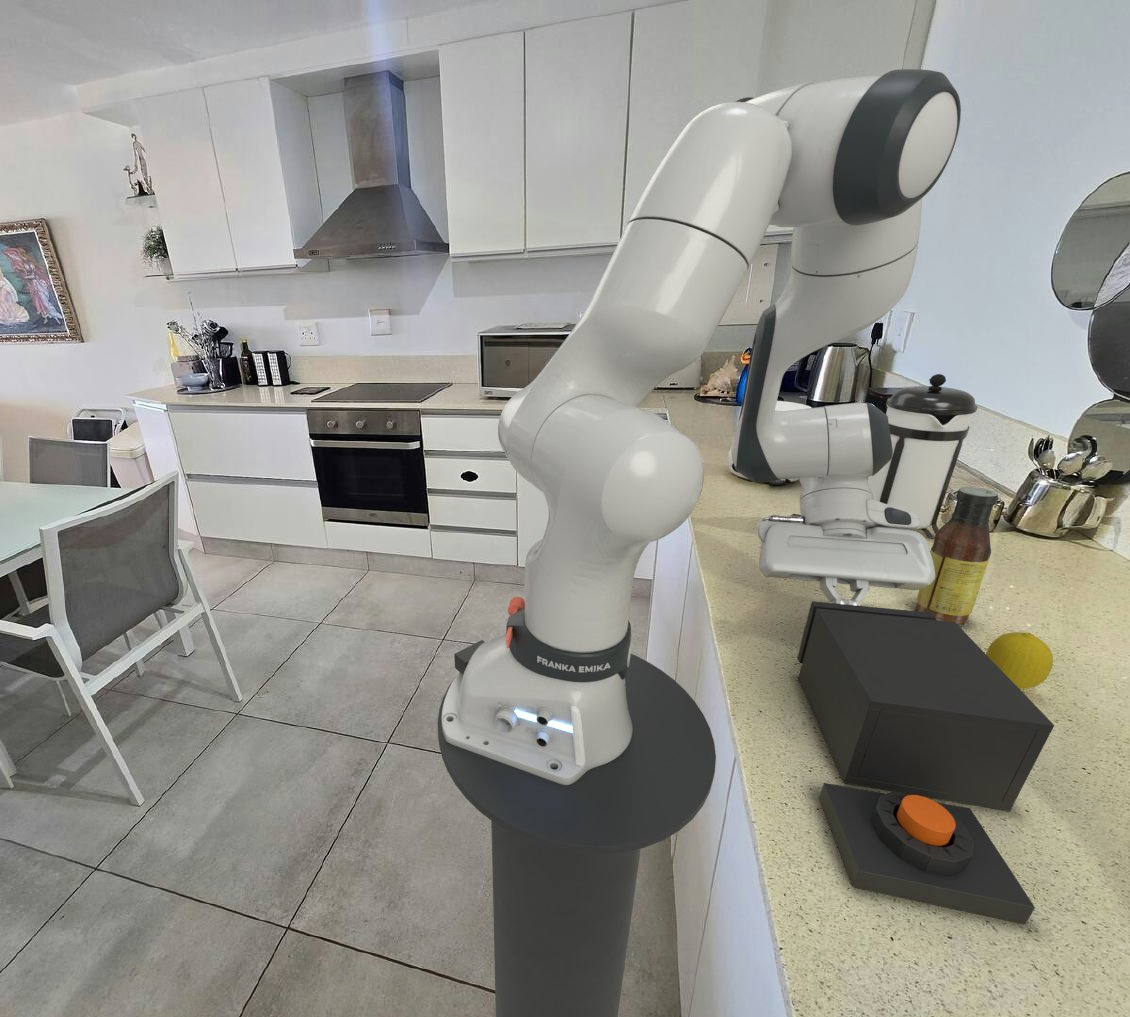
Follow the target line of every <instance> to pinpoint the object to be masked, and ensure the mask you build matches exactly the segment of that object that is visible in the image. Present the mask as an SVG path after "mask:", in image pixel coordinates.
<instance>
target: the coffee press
mask: <svg viewBox="0 0 1130 1017" xmlns="http://www.w3.org/2000/svg"><path fill="white" fill-rule="evenodd" d="M928 381H929V384H930V385H915V386H914V385H913V386H908V387H904V388H903V387H902V388H901V389H898V390H896V391H895V392H894V393H893V394H891V396H890V397H889V398H887V400H886V402H885V405H886V412H885V414H886V415H887V416H888V423H889V430H890V436H891V442H892V449H893V454H892V458H891V460H890V461H889V462H888V463H887V464H886V465H885V466H884V467H883V468H882V469H881V470H880V471H879V472H877V473H876V474H875V475H873V476H869V478H868V483H869V487H870V489H871V491H872V493H873V496H874V500H877V501H879V502H882V503H884V504H887V505H890V506H893V507H896V508H900V509H903V510H906V511H910V512H913V513H915V514H917V515H918V516H919V518H920V526H919V527H918V528H917V529H916V530H920V531H922V532H924V535H925V536H926V537H927V538H928V539H931V540H935V536H936V533H937V531H938V530H939V529H940V528H939V527H938V524H937V522H938V519H939V515H940V512H941V509H942V507H943V505H944V504H943V503H944V500H945V498H946V495H947V491H948V488H949V486H950V483H951V480H952V477H953V474H954V470H955V467H956V464H957V461H958V459H959V455H960V453H961V450H962V447H963V443H964V441H965V439H966V438H967V436H968V434H969V431H970V422H971V419H972V417H973V415H974V414H975V413H977V411H978V408H979V407H978V405H977V404H976V400H975V399H976V398H974V396H973V395H971V394H970V393H969V392H967V391H965V390H961V389H957V388H952V387H945V386H944V387H943V385H945V383H946V382H947V379H946V376H945V375H944V374H941V373H937V374H933V375H932V376H931V377H930V378H929V379H928ZM929 527H931V528H932V530H933V532H934V535H933V534H932V533H931V531H930V530H929V529H928V528H929Z"/></svg>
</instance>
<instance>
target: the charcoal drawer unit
mask: <svg viewBox="0 0 1130 1017" xmlns="http://www.w3.org/2000/svg"><path fill="white" fill-rule="evenodd" d="M797 681H798V683H799V685H800V687H801V690H802V692H803V694H804V697H805V699H806V701H807V703H808V706H809V708H810V710H811V713H812V715H813V717H814V719H815V722H816V724H817V726H818V729H819V730H820V733H821V734H822V737H823V739H824V742H825V743H826V744H825V745H826V746H827V748H828V750H829V753H830V755H831V757H832V760H833V762H834V764H835V766H836V768H837V771H838V773H839V776H840V777H841V780H842V782H843V783H844V784H848V785H853V786H854V785H855V786H859V787H865V788H872V789H877V790H884V791H889V792H894V791H898V792H904V793H910V794H915V795H919V796H923V797H926V798H929V799H935V800H941V801H947V802H951V803H957V804H958V803H959V804H962V805H963V804H964V805H970V806H975V807H981V808H987V809H992V810H999V811H1005V812H1011V810H1012V809H1013V807H1014V804H1015V803H1016V800H1017V798H1018V797H1019V795H1020V793H1021V791H1022V789H1023V787H1024V785H1025V783H1026V781H1027V780H1028V777H1029V775H1030V774H1031V771H1032V770H1033V768H1034V766H1035V764H1036V762H1037V760H1038V758H1039V756H1040V755H1041V753H1042V750H1043V748H1044V747H1045V744H1046V743H1047V740H1048V738H1049V737H1050V734H1051V733H1052V731H1053V729H1054V727H1055V724H1054V723H1053V722H1052V721H1051V720H1050V719H1049V718H1048V717H1047V716H1046V715H1045V714H1044V712H1042V711H1041V710H1040V709H1039V708H1038V707H1037V706H1036V704H1035V703H1033V701H1031V699H1030V698H1029V697H1028V696H1027V695H1026V694H1025V693H1024V692H1023V691H1022V689H1019V688H1018V687H1017V686H1016V685H1015V684H1014V683H1013V682H1012V681H1011V680H1010V679H1009V678H1008V677H1007V676H1006V675H1005V674H1004V672H1003V671H1002V670H1001V669H1000V668H999V667H998V666H997V665H996V664H995V663H994V662H993V661H992V660H991V659H990V658H989V657H988V656H987V655H986V652H985V651H983V649H982V648H981V647H980V646H979V645H978V644H977V643H976V642H975V641H974V640H973V639H972V638H971V637H970V636H969V635H968V634H967V633H966V632H965V631H964V630H963V629H962V628H961V627H960V625H957V624H956V623H955V622H948V621H938V620H928V619H918V618H908V617H898V616H888V615H878V614H868V613H858V612H848V611H838V610H828V609H818V608H817V609H816V613H815V617H814V620H813V624H812V628H811V632H810V636H809V640H808V643H807V647H806V651H805V655H804V659H803V663H802V664H801V666H800V670H799V675H798V679H797Z"/></svg>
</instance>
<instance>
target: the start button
mask: <svg viewBox="0 0 1130 1017" xmlns="http://www.w3.org/2000/svg"><path fill="white" fill-rule="evenodd" d="M938 803H939V802H937V801H935V800H933V799H932V798H929V797H923V796H919V795H908V796H906V797H904V798H903V800H902V802H901V805H900V807H899V810H898V812H897V819H898V822H899V824H900V825H901V826H902V828H903V829H904V830H905V831H906V832H907V833H909V834H910V835H911V836H913V837H914V838H916V839H917V840H919V841H921V842H924V843H926V844H929V845H934V846H943V845H946V844H947V843H948V842H949V840H950V838H951V836H952V834H953V832H954V829H955V827H956V824H955V820H954V818H953V817H952V815H951V814H950V813H949V812H948V811H947V810H946V809H945V808H944V807H943V806H941V805H940V804H938Z"/></svg>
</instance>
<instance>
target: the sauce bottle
mask: <svg viewBox="0 0 1130 1017" xmlns="http://www.w3.org/2000/svg"><path fill="white" fill-rule="evenodd" d="M955 498H956V502H955V506H954V510H953V512H952V513H951V518H950V519H949V520H948V521H947V522H945V524H943V525H942V526H941V527H940V528H938V529H939V530H938V531H937V533H936V535H934V536H935V538H934V539H933V544H932V546H931V547H930V552H931V555H932V559H933V563H934V569H935V579H934V581H933V582H932V583H931V584H930V585H929V586H927V587H925V588H922V589H920V590H918V592H917V596H916V604H915V611H919V612H930V613H932V614H933V615H934V616H935V617H936V620H938V621H948V622H955V623H956V624H957V625H958V626H960V625H964V624H966V623H967V622H968V620H969V618H970V615H971V614H972V613H973V610H974V607H975V604H976V601H977V598H978V595H979V592H980V589H981V586H982V582H983V580H984V576H985V574H986V572H987V567H988V565H989V561H990V559H991V558H990V557H991V555H992V549H991V548H992V547H991V536H990V526H989V525H990V524H989V522H990V517H991V514H992V511H993V507H994V506H995V505H996V504H997V502H998V498H999V494H998V492H996V491H994V490H992V489H988V488H985V487H979V486H961V487H959V489H957V492H956V497H955Z"/></svg>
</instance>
